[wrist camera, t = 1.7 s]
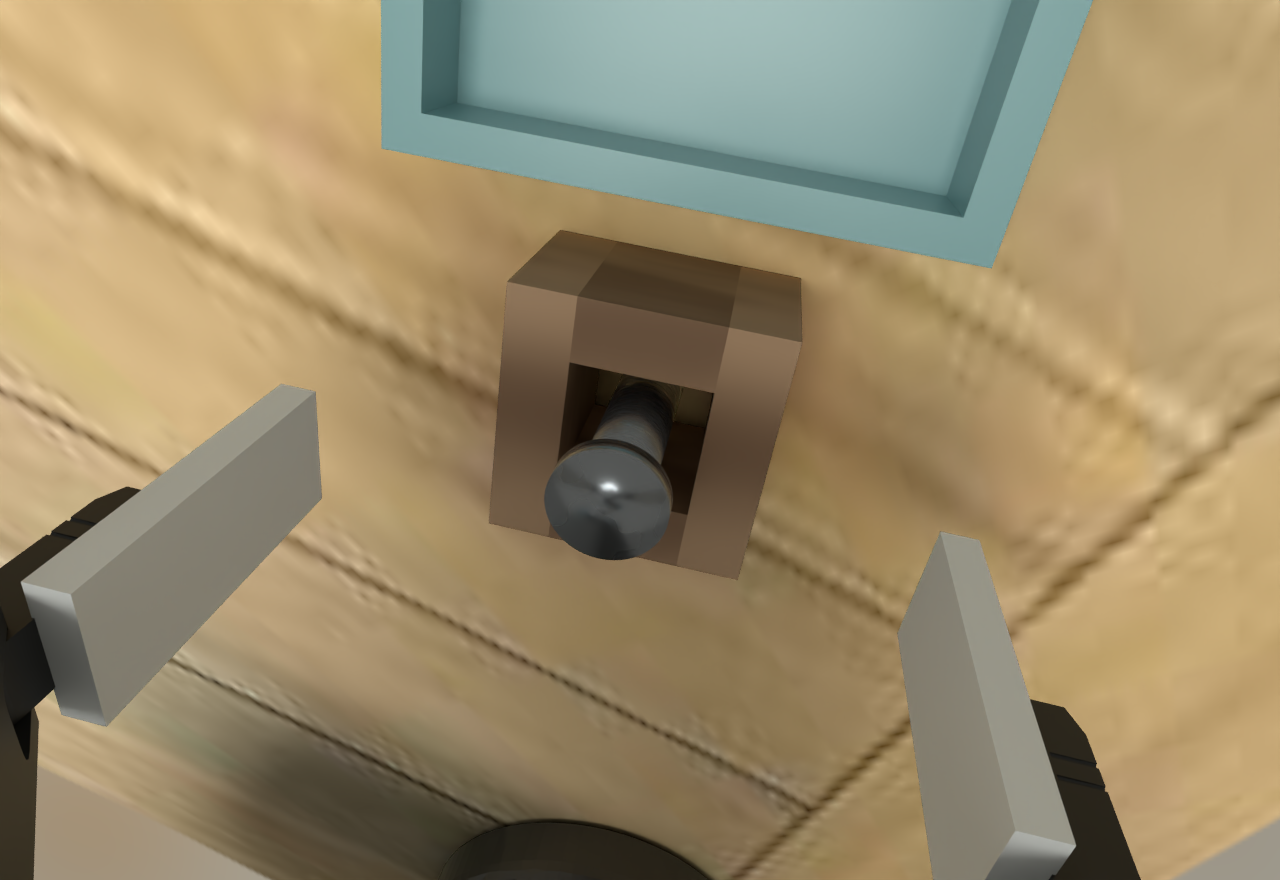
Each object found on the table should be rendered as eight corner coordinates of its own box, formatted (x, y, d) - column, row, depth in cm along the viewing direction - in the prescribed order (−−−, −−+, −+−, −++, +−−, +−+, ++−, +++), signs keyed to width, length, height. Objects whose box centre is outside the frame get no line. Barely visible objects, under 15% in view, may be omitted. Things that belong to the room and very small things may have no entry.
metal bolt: (695, 414, 25) (658, 571, 18) (608, 395, 26) (538, 544, 19) (712, 331, 24) (680, 468, 17) (620, 313, 24) (550, 439, 17)
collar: (746, 485, 26) (737, 580, 22) (538, 439, 27) (488, 523, 22) (800, 278, 23) (802, 342, 19) (560, 230, 23) (506, 281, 19)
